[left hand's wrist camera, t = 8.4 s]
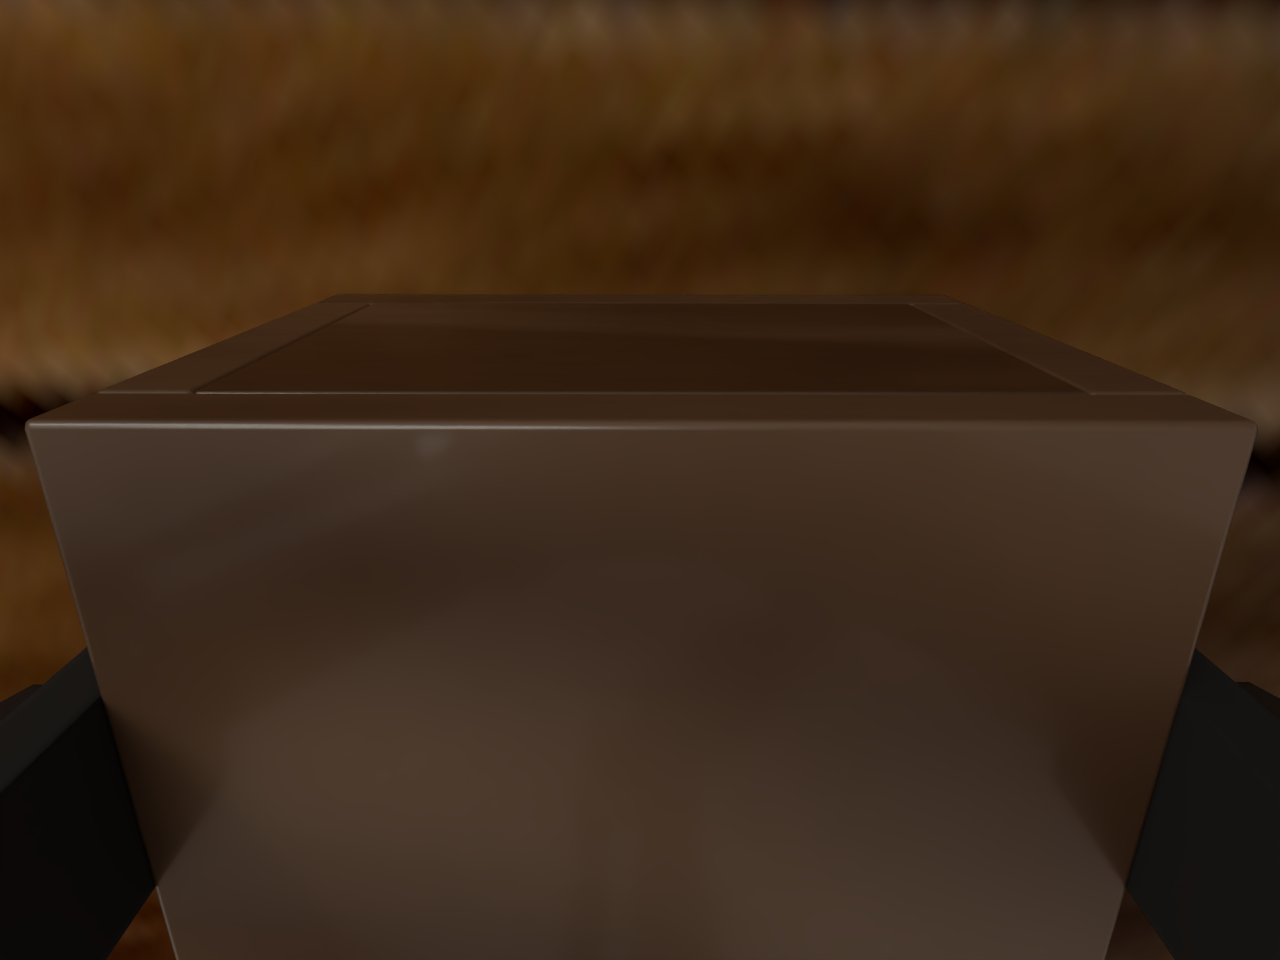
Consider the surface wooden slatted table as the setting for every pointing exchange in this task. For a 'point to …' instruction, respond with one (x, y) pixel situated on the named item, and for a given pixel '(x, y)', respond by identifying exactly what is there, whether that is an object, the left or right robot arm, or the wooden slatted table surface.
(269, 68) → the wooden slatted table surface
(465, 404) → the cabinet
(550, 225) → the wooden slatted table surface
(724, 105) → the wooden slatted table surface
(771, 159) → the wooden slatted table surface
